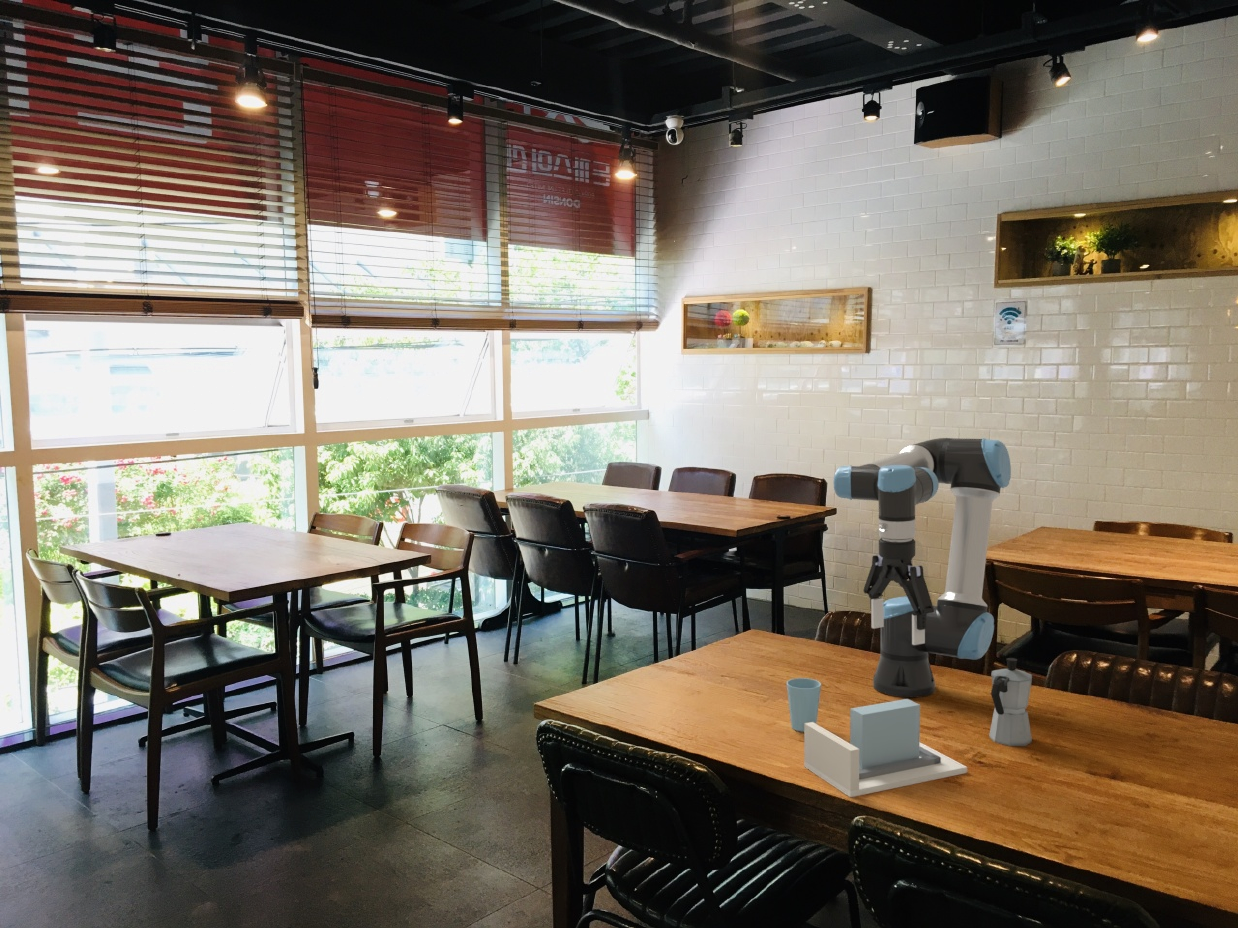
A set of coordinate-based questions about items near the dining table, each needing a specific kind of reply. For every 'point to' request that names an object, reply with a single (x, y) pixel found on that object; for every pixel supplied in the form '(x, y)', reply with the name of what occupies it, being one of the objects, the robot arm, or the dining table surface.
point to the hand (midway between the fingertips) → (897, 635)
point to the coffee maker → (1010, 706)
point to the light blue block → (885, 732)
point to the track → (842, 768)
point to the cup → (803, 701)
